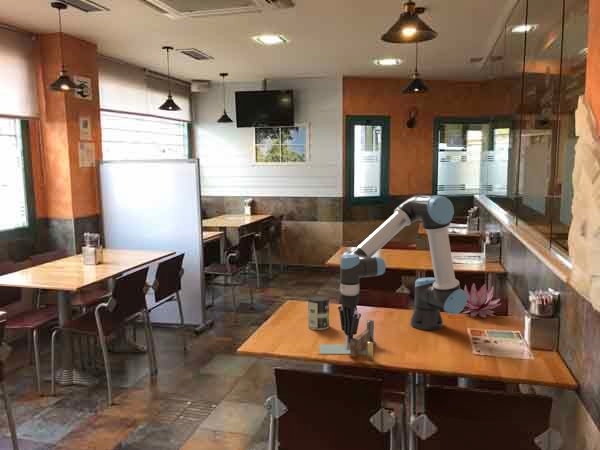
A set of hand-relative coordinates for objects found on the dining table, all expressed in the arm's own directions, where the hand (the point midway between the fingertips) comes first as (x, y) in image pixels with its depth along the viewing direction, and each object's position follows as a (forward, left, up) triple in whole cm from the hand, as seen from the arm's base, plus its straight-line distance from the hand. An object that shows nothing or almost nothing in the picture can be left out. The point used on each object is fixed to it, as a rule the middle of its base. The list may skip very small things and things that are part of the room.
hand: (348, 349), depth 193 cm
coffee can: (+12, -34, -2) cm, 36 cm away
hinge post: (-10, -12, -2) cm, 16 cm away
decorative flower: (-70, -52, -2) cm, 87 cm away
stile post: (-8, +5, -2) cm, 10 cm away
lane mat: (+2, -5, -2) cm, 6 cm away
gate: (-5, -2, -1) cm, 6 cm away
